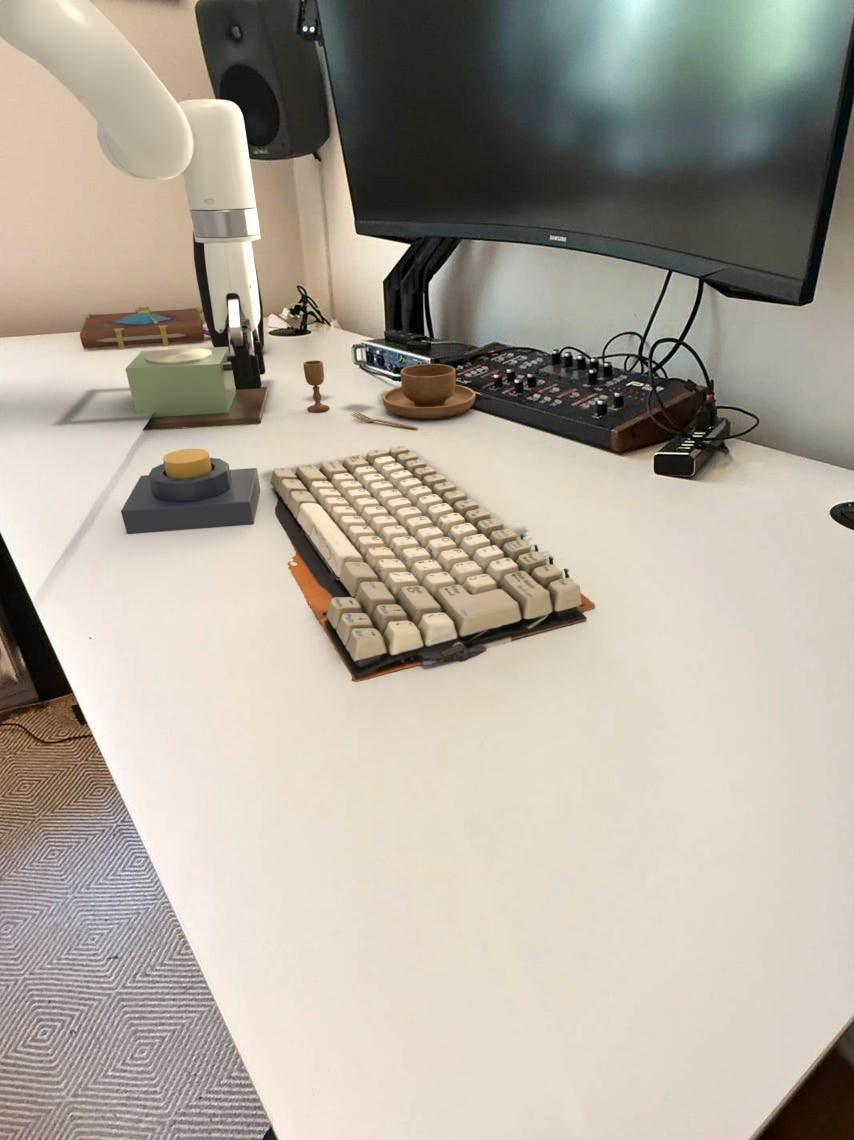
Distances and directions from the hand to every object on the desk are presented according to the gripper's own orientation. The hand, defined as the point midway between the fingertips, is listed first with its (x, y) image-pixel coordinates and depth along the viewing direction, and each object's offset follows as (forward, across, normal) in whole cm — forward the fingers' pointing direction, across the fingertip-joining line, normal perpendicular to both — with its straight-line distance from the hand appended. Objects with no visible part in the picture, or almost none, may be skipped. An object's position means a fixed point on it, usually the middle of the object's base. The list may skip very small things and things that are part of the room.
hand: (251, 380), depth 103 cm
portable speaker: (+4, -33, -5) cm, 34 cm away
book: (+4, -51, -21) cm, 55 cm away
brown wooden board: (+3, 0, -10) cm, 11 cm away
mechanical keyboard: (+4, +46, +15) cm, 49 cm away
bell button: (0, +35, -3) cm, 35 cm away
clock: (0, 0, -14) cm, 14 cm away
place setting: (+4, +3, +19) cm, 20 cm away
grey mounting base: (+3, +35, -3) cm, 35 cm away
